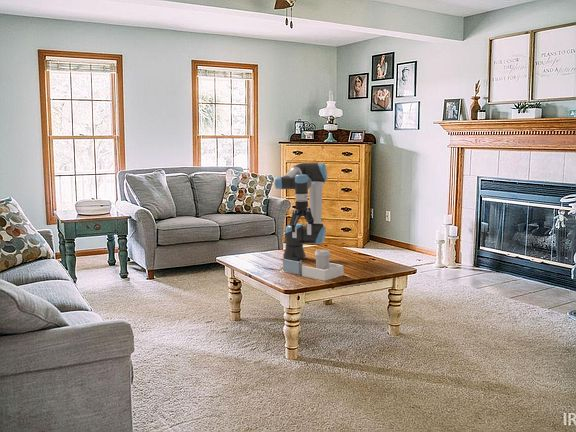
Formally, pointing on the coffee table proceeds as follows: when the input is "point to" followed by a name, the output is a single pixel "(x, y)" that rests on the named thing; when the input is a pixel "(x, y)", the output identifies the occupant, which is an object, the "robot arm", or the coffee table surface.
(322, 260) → the coffee cup
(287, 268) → the grey flat plate
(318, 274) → the white open box
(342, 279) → the coffee table surface
